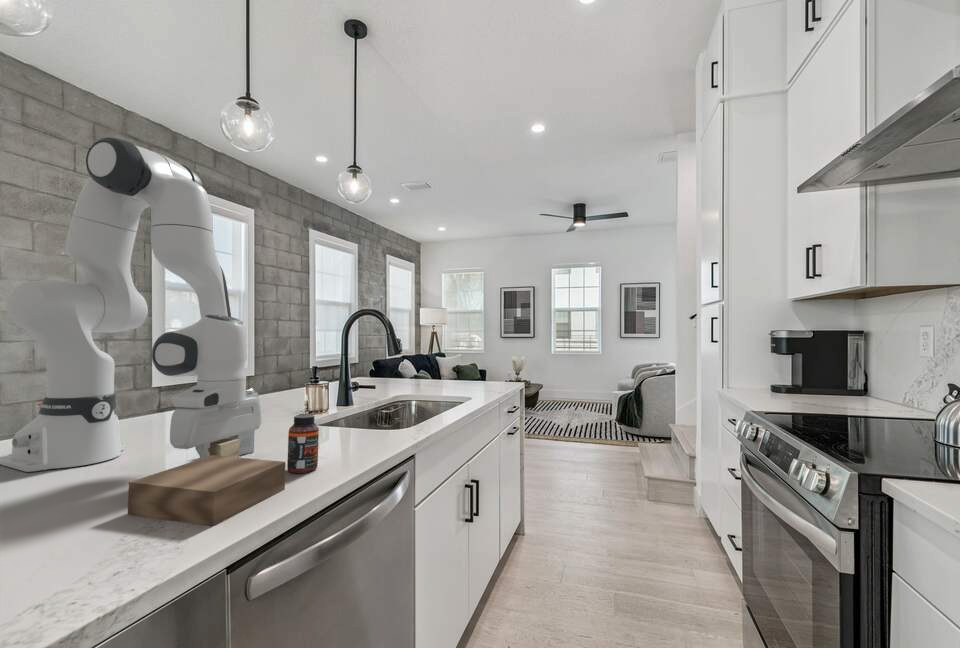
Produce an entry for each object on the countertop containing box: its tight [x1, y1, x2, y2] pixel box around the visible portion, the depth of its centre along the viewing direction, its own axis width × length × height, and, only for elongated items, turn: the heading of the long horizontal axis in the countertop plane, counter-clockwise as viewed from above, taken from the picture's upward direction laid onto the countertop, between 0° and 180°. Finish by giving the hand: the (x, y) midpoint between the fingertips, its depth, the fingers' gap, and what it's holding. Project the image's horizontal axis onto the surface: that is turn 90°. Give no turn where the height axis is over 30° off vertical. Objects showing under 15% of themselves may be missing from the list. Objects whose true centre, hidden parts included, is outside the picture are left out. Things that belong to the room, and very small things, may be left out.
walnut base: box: [127, 455, 286, 527], centre depth 74 cm, size 16×16×5 cm
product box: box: [228, 430, 256, 456], centre depth 104 cm, size 6×6×7 cm
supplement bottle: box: [286, 413, 320, 474], centre depth 92 cm, size 6×6×11 cm
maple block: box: [207, 438, 240, 458], centre depth 91 cm, size 5×5×6 cm
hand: (219, 460), depth 91 cm, fingers closed on maple block, 5 cm apart
